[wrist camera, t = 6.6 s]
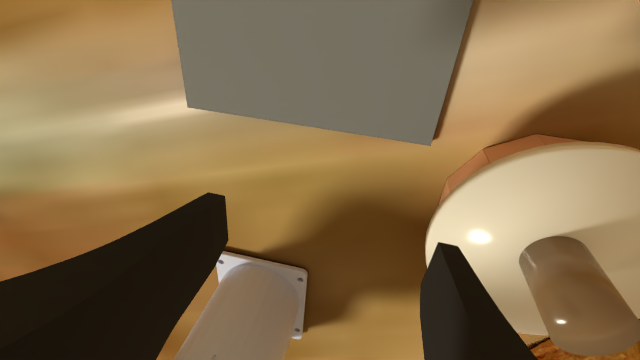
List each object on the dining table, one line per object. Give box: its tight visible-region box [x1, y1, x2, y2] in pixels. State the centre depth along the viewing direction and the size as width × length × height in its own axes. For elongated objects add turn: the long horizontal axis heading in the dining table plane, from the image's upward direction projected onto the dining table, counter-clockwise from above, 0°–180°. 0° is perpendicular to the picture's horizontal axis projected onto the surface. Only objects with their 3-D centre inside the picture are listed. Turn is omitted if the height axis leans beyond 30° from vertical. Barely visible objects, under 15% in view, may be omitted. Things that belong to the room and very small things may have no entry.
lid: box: [425, 142, 640, 356], centre depth 14 cm, size 12×12×5 cm
